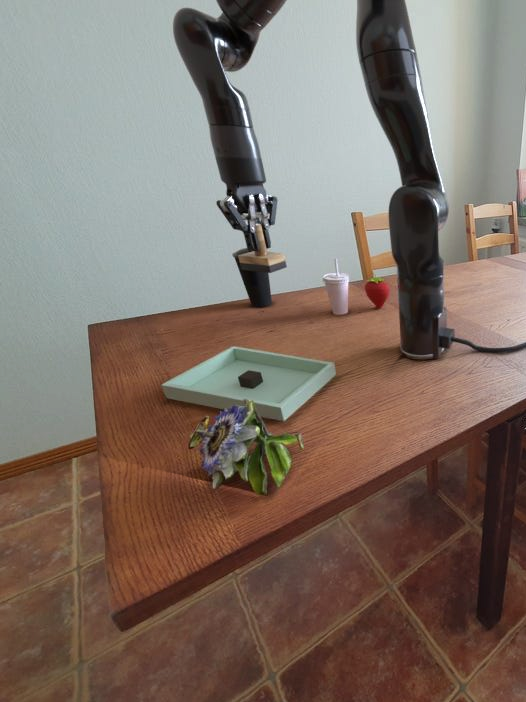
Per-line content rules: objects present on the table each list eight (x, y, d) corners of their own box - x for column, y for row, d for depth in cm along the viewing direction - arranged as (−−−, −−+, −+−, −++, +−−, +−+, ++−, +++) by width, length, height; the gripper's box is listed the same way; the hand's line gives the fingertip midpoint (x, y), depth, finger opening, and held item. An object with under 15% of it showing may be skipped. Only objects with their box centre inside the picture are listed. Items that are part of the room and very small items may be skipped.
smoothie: (345, 318, 95) (338, 263, 88) (322, 315, 96) (313, 260, 89) (357, 309, 101) (351, 257, 94) (335, 306, 102) (328, 254, 95)
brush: (286, 267, 81) (277, 224, 77) (270, 273, 77) (260, 227, 73) (259, 264, 83) (248, 221, 78) (241, 269, 78) (229, 224, 74)
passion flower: (232, 507, 50) (178, 433, 48) (307, 457, 56) (262, 389, 54) (233, 523, 41) (167, 432, 39) (323, 461, 47) (270, 380, 45)
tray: (336, 378, 70) (334, 362, 68) (284, 425, 57) (280, 407, 56) (237, 360, 74) (232, 345, 72) (167, 401, 61) (160, 384, 59)
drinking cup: (284, 303, 102) (268, 226, 93) (259, 311, 96) (239, 230, 86) (264, 297, 105) (247, 223, 95) (239, 305, 99) (217, 226, 89)
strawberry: (377, 314, 98) (374, 277, 93) (361, 307, 102) (357, 271, 98) (396, 309, 102) (394, 273, 97) (379, 302, 106) (376, 267, 102)
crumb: (263, 381, 66) (260, 372, 65) (253, 389, 64) (250, 379, 63) (251, 379, 67) (248, 369, 66) (240, 386, 64) (237, 377, 63)
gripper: (224, 155, 63) (250, 258, 71) (281, 156, 75) (297, 244, 83) (188, 153, 64) (217, 254, 73) (249, 155, 76) (268, 242, 85)
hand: (260, 249), depth 78 cm, fingers closed on brush, 2 cm apart
